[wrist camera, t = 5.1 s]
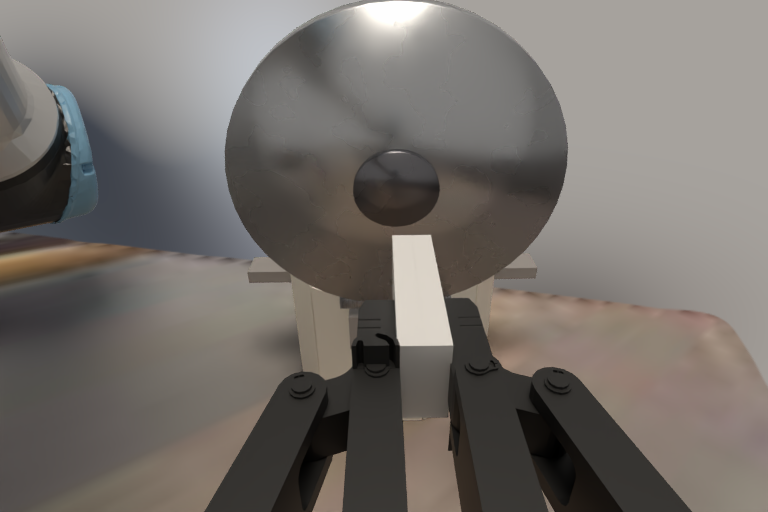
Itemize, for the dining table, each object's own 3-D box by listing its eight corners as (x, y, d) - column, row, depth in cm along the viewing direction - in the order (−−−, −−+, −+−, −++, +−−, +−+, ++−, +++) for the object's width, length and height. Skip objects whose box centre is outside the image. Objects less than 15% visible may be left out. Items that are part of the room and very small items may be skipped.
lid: (525, 296, 31) (530, 313, 30) (264, 300, 31) (259, 317, 30) (603, -7, 20) (617, 1, 18) (189, -1, 20) (177, 8, 18)
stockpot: (549, 430, 36) (577, 311, 30) (241, 435, 36) (213, 317, 30) (499, 300, 51) (511, 205, 45) (282, 303, 51) (268, 208, 45)
